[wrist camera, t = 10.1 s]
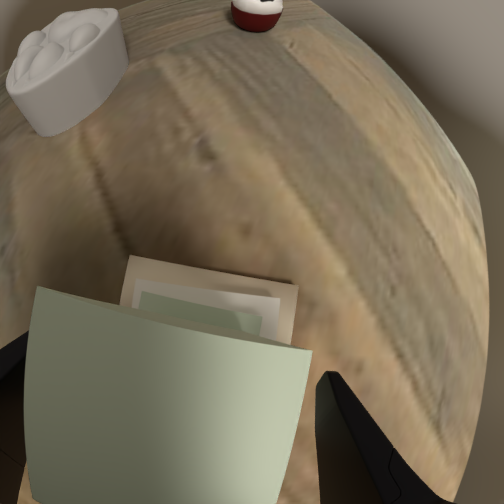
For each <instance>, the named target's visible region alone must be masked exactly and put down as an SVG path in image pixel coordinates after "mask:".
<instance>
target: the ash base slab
mask: <svg viewBox="0 0 504 504" xmlns="http://www.w3.org/2000/svg"><path fill="white" fill-rule="evenodd" d="M136 278H137V279H143V280H149V281H156V282H162V283H168V284H175V285H182V286H188V287H195V288H202V289H210V290H217V291H224V292H232V293H240V294H248V295H256V296H265V297H273V298H280V308H279V318H278V327H277V337H276V341H278V342H282V343H285V344H289V345H290V344H291V338H292V331H293V324H294V317H295V310H296V302H297V295H298V287H299V286H298V285H292V284H286V283H280V282H274V281H268V280H262V279H257V278H251V277H245V276H239V275H234V274H228V273H223V272H217V271H212V270H206V269H201V268H195V267H190V266H185V265H179V264H174V263H169V262H164V261H159V260H154V259H148V258H143V257H138V256H133V255H130V256H129V261H128V265H127V269H126V274H125V279H124V283H123V288H122V293H121V298H120V304H119V305H121V306H126V307H132V300H133V293H134V287H135V281H136Z"/></svg>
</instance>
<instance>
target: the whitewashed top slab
mask: <svg viewBox="0 0 504 504" xmlns="http://www.w3.org/2000/svg"><path fill="white" fill-rule="evenodd" d="M142 291H145V292H149V293H153V294H157V295H161V296H165V297H170V298H174V299H178V300H183V301H187V302H192V303H196V304H201V305H206V306H210V307H215V308H220V309H225V310H230V311H235V312H240V313H246V314H251V315H256V316H262V323H261V328H260V334H259V336H261V337H264V338H268V339H271V340H275V341H276V337H277V327H278V318H279V308H280V298H273V297H265V296H256V295H248V294H240V293H232V292H224V291H217V290H210V289H202V288H195V287H188V286H182V285H175V284H168V283H162V282H156V281H149V280H143V279H137V278H136V281H135V287H134V293H133V300H132V307H131V308H136V309H138V307H139V302H140V298H141V293H142Z"/></svg>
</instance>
